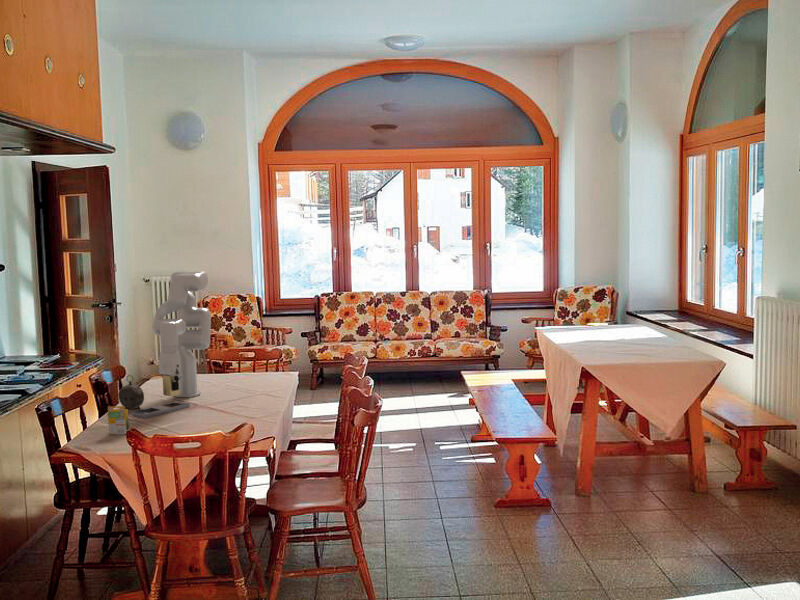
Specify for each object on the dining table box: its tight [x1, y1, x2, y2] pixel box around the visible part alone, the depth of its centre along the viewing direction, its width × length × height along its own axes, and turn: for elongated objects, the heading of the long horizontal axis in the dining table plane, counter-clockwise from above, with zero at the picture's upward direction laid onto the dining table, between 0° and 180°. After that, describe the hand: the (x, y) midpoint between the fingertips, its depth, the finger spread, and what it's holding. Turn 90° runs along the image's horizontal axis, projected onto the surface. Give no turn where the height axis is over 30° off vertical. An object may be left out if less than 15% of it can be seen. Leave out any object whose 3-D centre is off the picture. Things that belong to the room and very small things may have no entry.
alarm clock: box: [118, 374, 145, 411], centre depth 381 cm, size 11×5×16 cm, turn 71°
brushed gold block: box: [162, 375, 180, 397], centre depth 380 cm, size 5×5×9 cm
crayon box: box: [107, 405, 130, 435], centre depth 344 cm, size 7×3×12 cm, turn 86°
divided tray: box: [131, 400, 191, 419], centre depth 376 cm, size 9×24×2 cm, turn 143°
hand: (171, 389), depth 380 cm, fingers closed on brushed gold block, 5 cm apart
